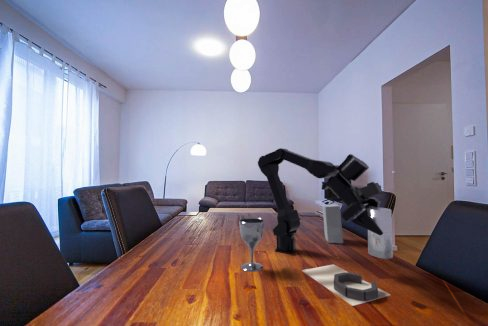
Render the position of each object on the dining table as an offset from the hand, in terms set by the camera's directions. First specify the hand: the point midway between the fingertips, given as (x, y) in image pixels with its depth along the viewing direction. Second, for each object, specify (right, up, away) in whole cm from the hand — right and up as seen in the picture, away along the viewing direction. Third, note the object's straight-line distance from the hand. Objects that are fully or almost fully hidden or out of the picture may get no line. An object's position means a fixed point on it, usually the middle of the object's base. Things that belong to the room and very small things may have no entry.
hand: (385, 232), depth 63 cm
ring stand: (-14, -13, -3) cm, 19 cm away
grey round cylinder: (-1, -7, +1) cm, 7 cm away
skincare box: (0, -15, +36) cm, 39 cm away
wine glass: (-37, -14, +9) cm, 41 cm away
